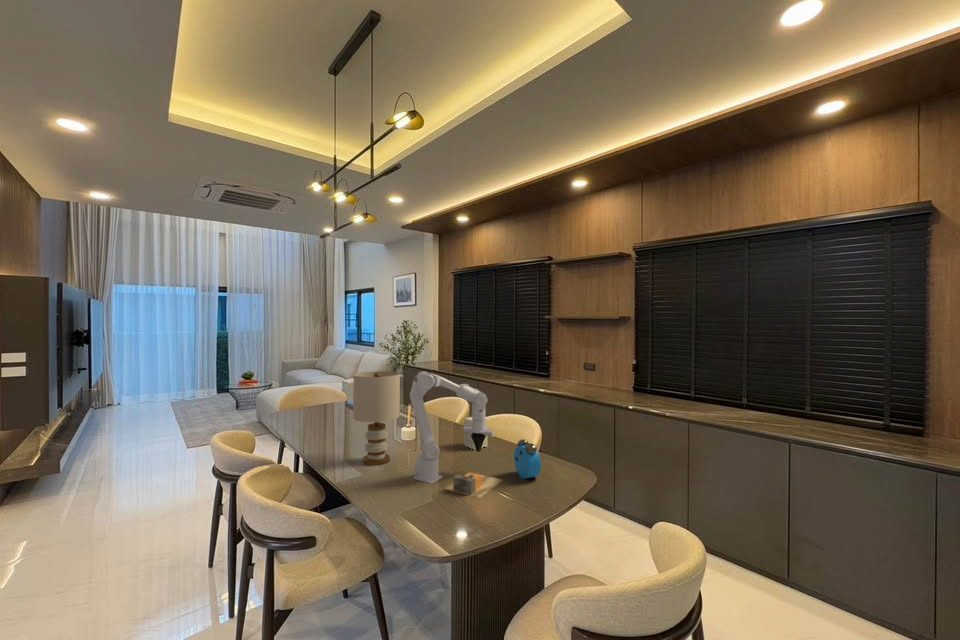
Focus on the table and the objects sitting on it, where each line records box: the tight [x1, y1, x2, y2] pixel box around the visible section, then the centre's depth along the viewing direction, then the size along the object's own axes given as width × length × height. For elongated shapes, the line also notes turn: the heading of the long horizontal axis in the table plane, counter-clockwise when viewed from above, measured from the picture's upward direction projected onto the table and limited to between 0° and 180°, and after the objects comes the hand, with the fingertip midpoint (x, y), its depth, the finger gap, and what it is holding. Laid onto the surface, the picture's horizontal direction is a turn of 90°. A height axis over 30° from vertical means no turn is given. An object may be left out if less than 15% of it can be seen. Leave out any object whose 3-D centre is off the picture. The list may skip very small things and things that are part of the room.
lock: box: [464, 472, 482, 491], centre depth 153 cm, size 6×6×5 cm
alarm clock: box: [513, 438, 542, 480], centre depth 164 cm, size 13×6×15 cm, turn 23°
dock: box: [443, 472, 503, 499], centre depth 156 cm, size 16×19×5 cm
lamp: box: [352, 370, 401, 466], centre depth 182 cm, size 21×21×41 cm
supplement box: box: [463, 416, 488, 451], centre depth 204 cm, size 9×9×15 cm
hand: (478, 450), depth 169 cm, fingers closed
